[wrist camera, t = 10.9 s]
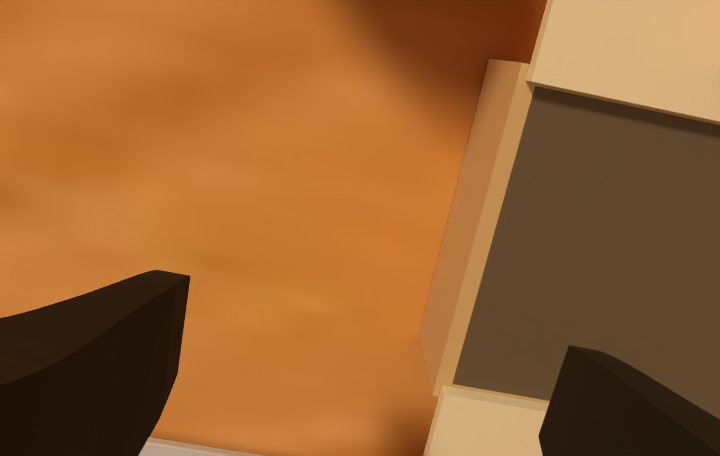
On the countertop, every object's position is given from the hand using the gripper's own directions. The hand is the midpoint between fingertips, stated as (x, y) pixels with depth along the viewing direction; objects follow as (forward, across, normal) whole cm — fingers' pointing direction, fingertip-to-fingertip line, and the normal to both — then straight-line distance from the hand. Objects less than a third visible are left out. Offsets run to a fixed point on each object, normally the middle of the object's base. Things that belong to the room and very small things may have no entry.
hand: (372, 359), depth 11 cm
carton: (+10, -9, -1) cm, 14 cm away
